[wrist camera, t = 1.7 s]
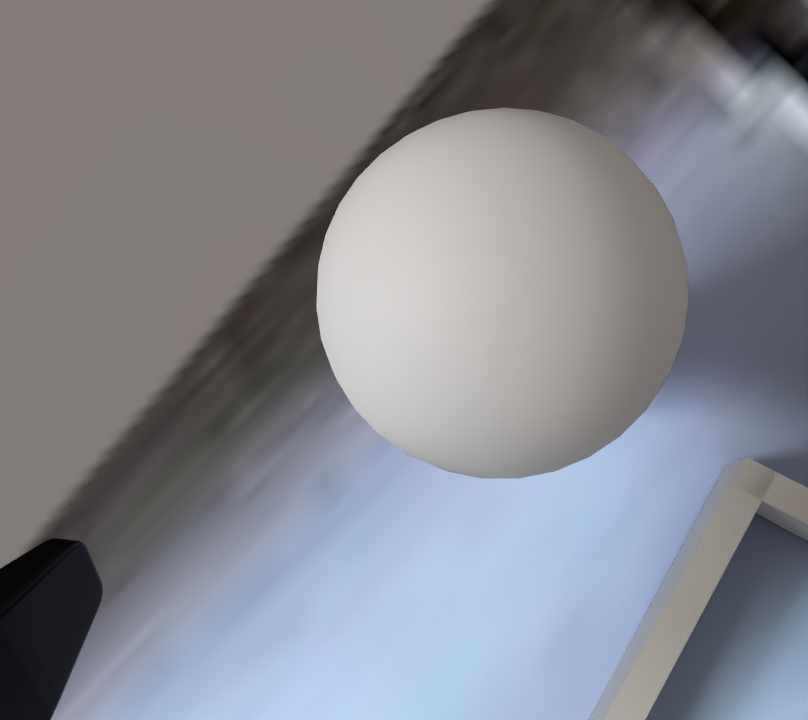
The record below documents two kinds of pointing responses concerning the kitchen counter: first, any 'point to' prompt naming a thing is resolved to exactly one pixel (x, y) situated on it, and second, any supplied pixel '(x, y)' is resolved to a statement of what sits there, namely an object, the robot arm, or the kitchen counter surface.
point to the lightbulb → (502, 293)
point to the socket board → (698, 580)
